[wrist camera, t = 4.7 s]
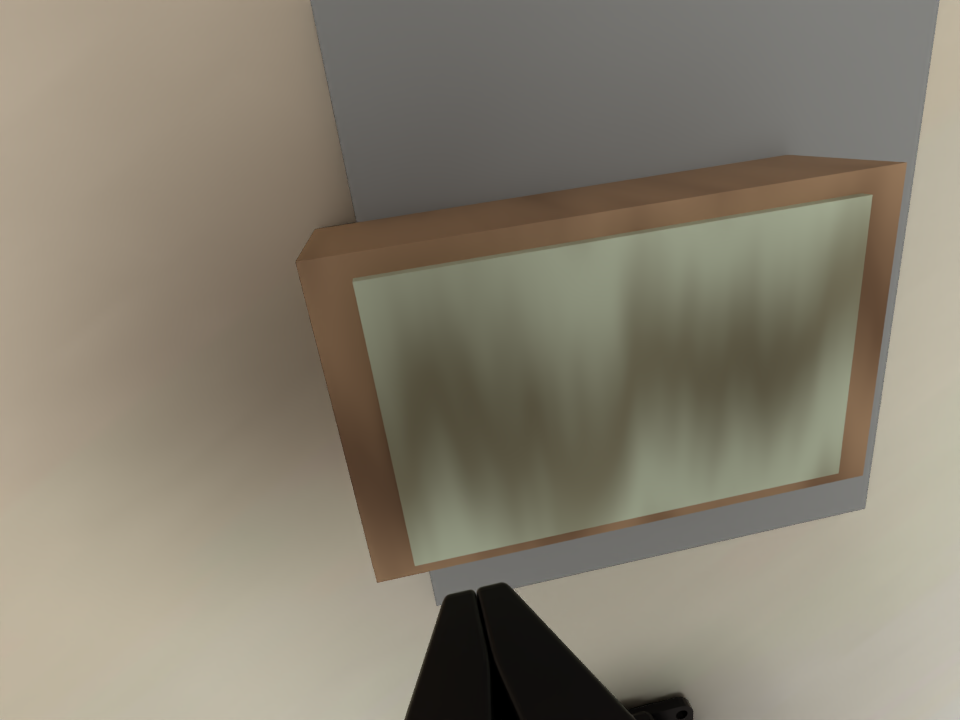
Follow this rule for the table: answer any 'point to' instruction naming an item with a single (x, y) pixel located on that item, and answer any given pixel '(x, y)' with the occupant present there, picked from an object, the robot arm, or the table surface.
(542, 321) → the brown green box
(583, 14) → the mat
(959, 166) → the table surface
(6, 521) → the table surface
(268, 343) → the table surface
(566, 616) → the table surface
